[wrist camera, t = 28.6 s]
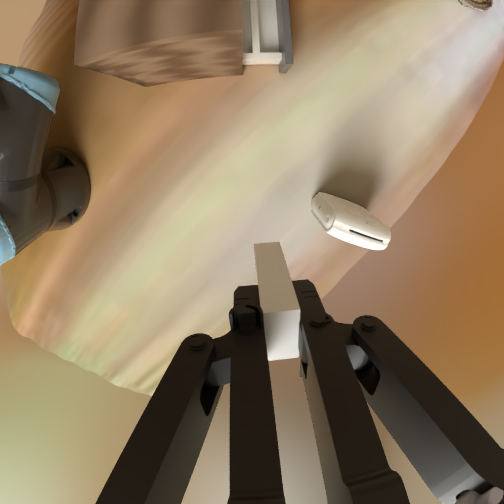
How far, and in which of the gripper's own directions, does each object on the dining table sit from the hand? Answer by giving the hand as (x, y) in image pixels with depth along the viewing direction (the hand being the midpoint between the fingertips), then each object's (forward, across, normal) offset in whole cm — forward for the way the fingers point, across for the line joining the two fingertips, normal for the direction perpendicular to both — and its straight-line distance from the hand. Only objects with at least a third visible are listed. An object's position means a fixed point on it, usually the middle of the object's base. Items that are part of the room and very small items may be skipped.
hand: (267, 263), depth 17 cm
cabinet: (+29, -7, +26) cm, 40 cm away
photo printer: (+29, +14, -6) cm, 33 cm away
